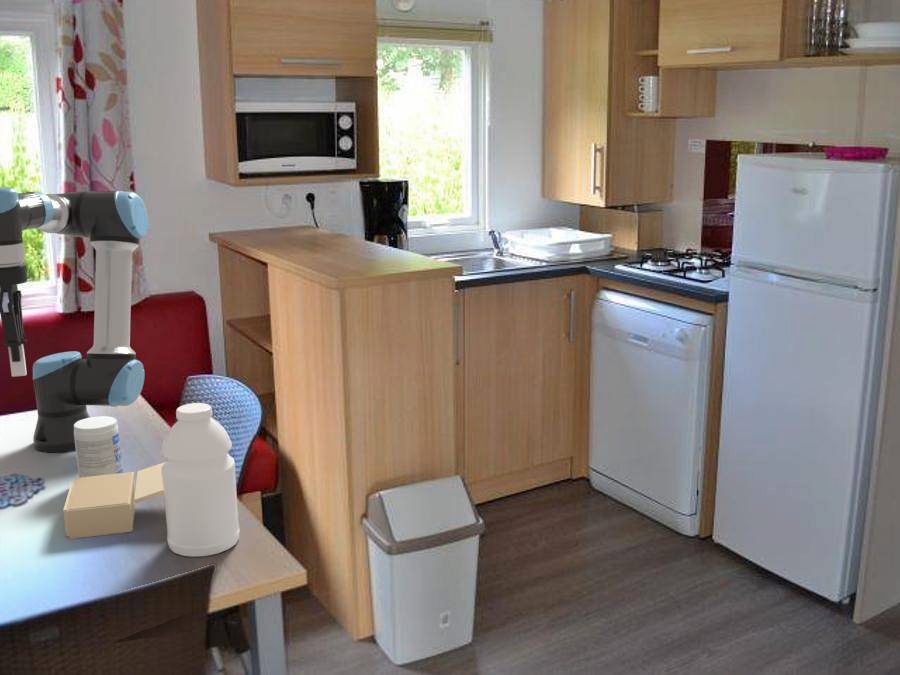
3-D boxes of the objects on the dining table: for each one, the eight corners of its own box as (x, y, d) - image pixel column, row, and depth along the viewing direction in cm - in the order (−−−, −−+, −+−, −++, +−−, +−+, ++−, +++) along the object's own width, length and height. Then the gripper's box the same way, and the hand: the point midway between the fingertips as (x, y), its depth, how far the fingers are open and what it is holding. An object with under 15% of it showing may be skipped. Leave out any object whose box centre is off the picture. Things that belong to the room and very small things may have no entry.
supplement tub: (128, 485, 216) (122, 424, 212) (85, 494, 211) (78, 432, 207) (117, 471, 224) (111, 412, 220) (75, 480, 219) (68, 420, 215)
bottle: (175, 564, 178) (163, 423, 172) (161, 535, 190) (149, 403, 184) (248, 548, 185) (239, 411, 178) (230, 521, 197) (221, 392, 190)
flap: (137, 471, 207) (191, 453, 209) (139, 475, 207) (192, 457, 209) (134, 499, 192) (192, 480, 194) (135, 504, 192) (194, 484, 194)
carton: (75, 503, 206) (72, 477, 204) (136, 497, 209) (133, 471, 208) (65, 539, 189) (62, 511, 188) (132, 531, 192) (129, 503, 191)
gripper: (-9, 260, 198) (5, 368, 204) (-21, 270, 186) (-6, 385, 191) (30, 258, 200) (42, 365, 206) (20, 268, 188) (34, 382, 193)
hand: (19, 375), depth 198 cm, fingers closed
